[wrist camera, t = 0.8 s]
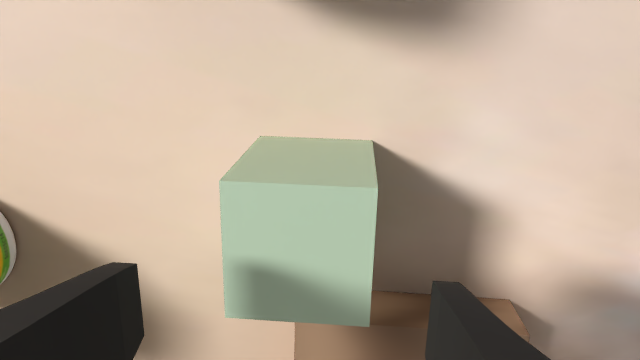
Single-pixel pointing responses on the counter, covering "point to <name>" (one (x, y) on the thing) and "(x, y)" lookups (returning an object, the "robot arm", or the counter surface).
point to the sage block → (300, 231)
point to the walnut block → (386, 330)
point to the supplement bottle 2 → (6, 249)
